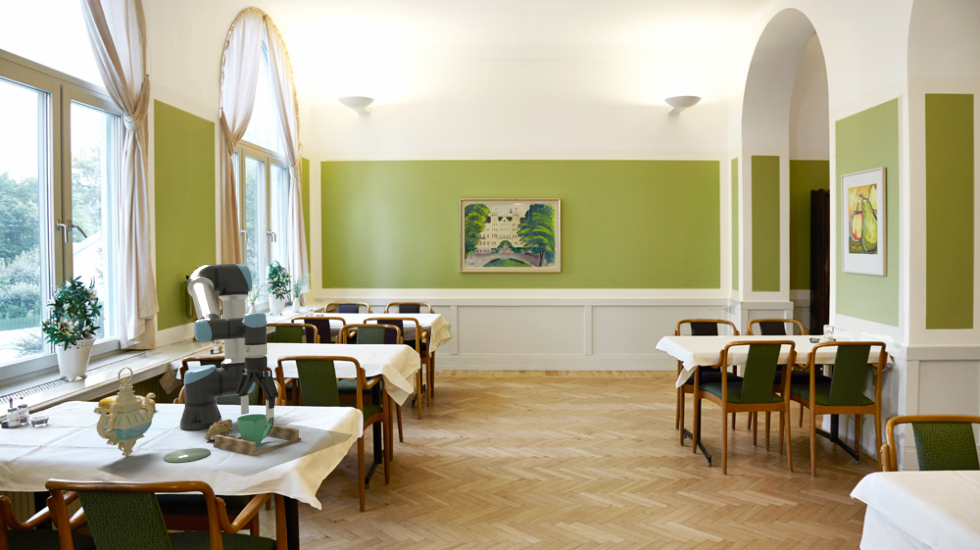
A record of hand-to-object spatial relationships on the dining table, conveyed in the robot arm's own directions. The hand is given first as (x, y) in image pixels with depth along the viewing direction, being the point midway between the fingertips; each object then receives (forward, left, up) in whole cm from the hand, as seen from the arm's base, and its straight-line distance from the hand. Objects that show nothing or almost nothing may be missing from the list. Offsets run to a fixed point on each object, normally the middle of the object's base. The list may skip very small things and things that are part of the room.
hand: (257, 415), depth 218 cm
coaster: (-9, -21, -10) cm, 25 cm away
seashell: (-18, -4, -11) cm, 22 cm away
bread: (-90, +3, -11) cm, 91 cm away
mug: (0, 0, -10) cm, 10 cm away
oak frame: (0, 0, -10) cm, 10 cm away
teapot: (-27, -31, -10) cm, 42 cm away
